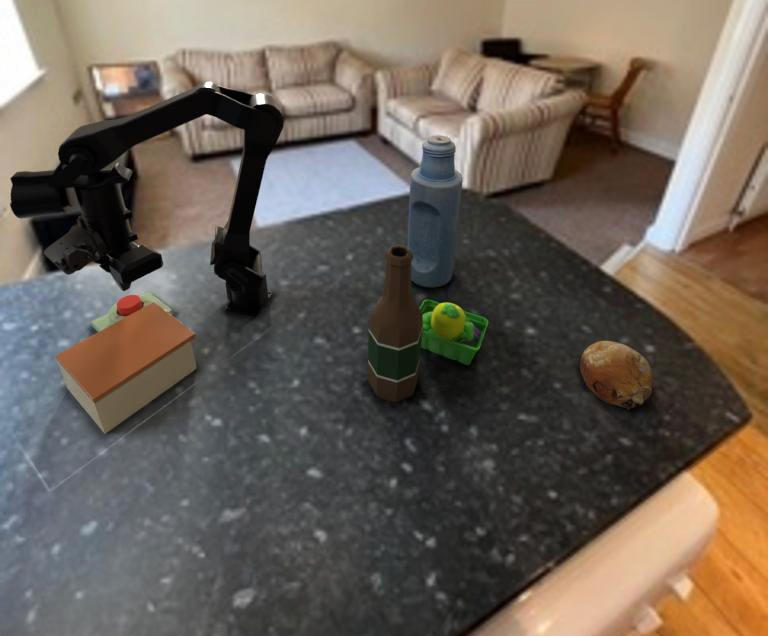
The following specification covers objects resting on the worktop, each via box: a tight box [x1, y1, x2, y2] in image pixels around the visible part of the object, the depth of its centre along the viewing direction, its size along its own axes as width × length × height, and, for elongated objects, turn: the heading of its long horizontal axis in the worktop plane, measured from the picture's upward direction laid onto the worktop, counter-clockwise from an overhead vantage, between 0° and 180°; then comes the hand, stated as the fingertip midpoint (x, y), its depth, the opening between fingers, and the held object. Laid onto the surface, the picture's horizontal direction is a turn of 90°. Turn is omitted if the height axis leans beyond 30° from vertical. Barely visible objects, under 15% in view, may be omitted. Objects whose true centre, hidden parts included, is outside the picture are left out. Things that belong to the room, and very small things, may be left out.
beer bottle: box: [367, 244, 423, 403], centre depth 63 cm, size 8×8×24 cm
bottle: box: [406, 134, 464, 289], centre depth 86 cm, size 10×10×30 cm
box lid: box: [54, 302, 196, 403], centre depth 65 cm, size 14×12×1 cm
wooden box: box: [56, 340, 198, 435], centre depth 66 cm, size 14×12×6 cm
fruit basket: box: [419, 299, 489, 366], centre depth 72 cm, size 11×9×11 cm
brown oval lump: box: [579, 340, 654, 410], centre depth 69 cm, size 10×10×8 cm
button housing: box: [91, 291, 174, 333], centre depth 78 cm, size 10×8×3 cm
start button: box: [116, 294, 142, 316], centre depth 77 cm, size 4×4×2 cm
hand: (125, 289), depth 75 cm, fingers closed
